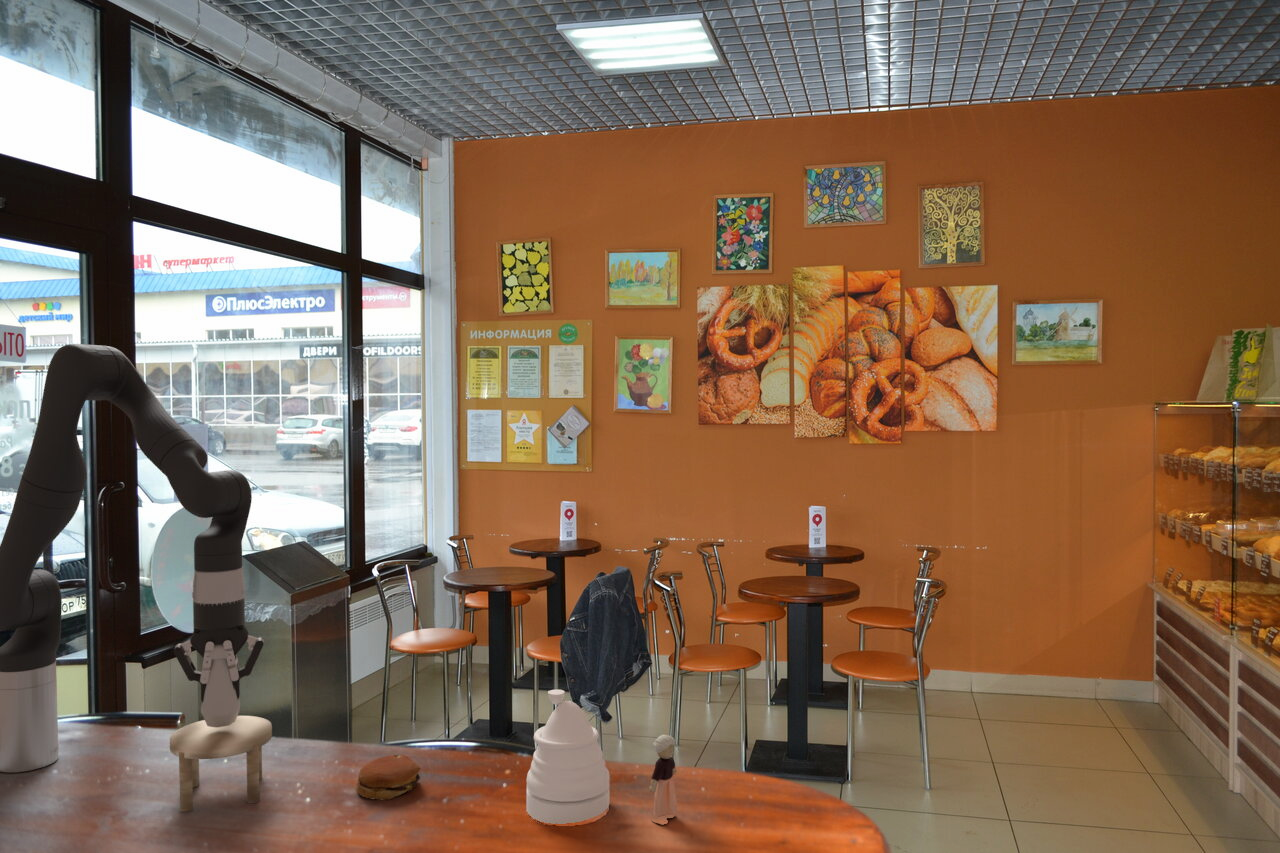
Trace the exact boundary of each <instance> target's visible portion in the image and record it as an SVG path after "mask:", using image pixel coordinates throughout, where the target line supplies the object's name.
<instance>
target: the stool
mask: <svg viewBox="0 0 1280 853" xmlns="http://www.w3.org/2000/svg"><path fill="white" fill-rule="evenodd" d="M272 737H273V726H272V722H271V721H270V720H268V719H266V718H263V717H259V716H254V715H238V716H237V718H236V720H235V722H234V723H232V724H231V725H229V726H223V727H217V728H216V727H209V726H207V724H206V722H205V720H204V719H202V720H198V721H195V722H192V723H189V724H186V725H184V726H182V727H180V728H179V729H177V730H174V732H172V734H171V735H170V736H169V750H170V753H171V754H173V755H174V756H176V757H178V769H179V770H178V771H179V773H178V775H179V776H178V777H179V811H180V812H181V813H186V812H187V813H188V812H190V811H193V809H194V798H193V797H194V794H193V793H194V792H193V791H194V790H193V788H197V787H199V786H200V760H213V759H222V758H229V757H234V756H238V755H242V754H245V755H246V796H247V797H246V799H247V800H246V802H247V803H248V804H255V803H258V802H260V800H261V798H260V796H261V795H260V779H262V778H263V750H262V749H263V748H262V747H263V746H265V745H266V744H267V743H269V742H270V741H271V739H272ZM261 777H262V778H261ZM259 778H260V779H259Z"/></svg>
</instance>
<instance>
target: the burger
mask: <svg viewBox="0 0 1280 853" xmlns="http://www.w3.org/2000/svg"><path fill="white" fill-rule="evenodd" d="M420 771H421V767H420V765H419V763H417V762H416V761H414V760H413V759H412V758H410V757H409V756H408V755H405V754H402V755H400V754H393V755H392V754H391V755H387V756H381V757H378V758H375V759H373V760H370V761H368V762H367V763H365V764H364V765H363V766H362V768H360V770H359V772H358V776H357V786H356V792H357V794H358V795H360V796H361V795H362V796H361V797H363V798H364V797H366V798H365V799H368V798H374V799H388V800H391V799H390V798H392V799H394V798H393V797H395V796H397V797H399V796H401V794H402V795H403V794H406V793H407V791H408V792H410V791H412V790H413V789H414V787H415V786H416V785H417V783H418V781H420V779H421V776H420V774H419V773H420ZM409 790H410V791H409ZM398 795H399V796H398ZM395 798H396V797H395ZM374 799H373V800H374Z"/></svg>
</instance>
